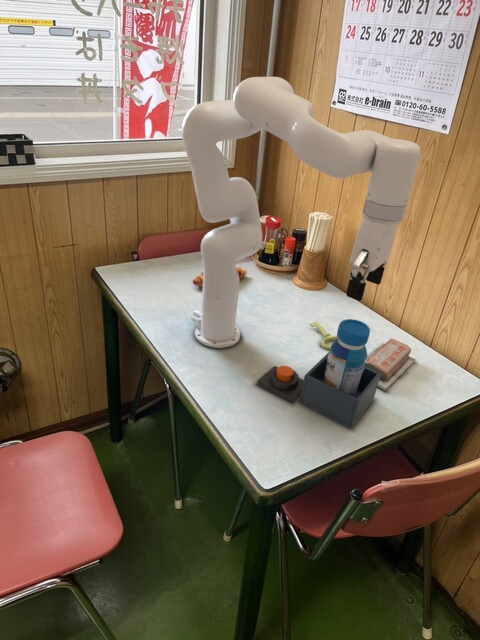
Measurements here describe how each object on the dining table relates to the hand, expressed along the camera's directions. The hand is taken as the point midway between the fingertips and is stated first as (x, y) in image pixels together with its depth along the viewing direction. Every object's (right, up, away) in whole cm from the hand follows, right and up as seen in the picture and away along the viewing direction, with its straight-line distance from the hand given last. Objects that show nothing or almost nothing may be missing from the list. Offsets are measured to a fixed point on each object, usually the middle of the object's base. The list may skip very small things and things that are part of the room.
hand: (363, 289), depth 99 cm
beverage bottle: (-2, -25, +15) cm, 29 cm away
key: (-1, -12, +38) cm, 40 cm away
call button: (-15, -20, +17) cm, 30 cm away
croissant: (-32, +6, +63) cm, 71 cm away
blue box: (-2, -26, +16) cm, 30 cm away
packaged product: (+13, -19, +29) cm, 37 cm away
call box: (-15, -22, +19) cm, 33 cm away
